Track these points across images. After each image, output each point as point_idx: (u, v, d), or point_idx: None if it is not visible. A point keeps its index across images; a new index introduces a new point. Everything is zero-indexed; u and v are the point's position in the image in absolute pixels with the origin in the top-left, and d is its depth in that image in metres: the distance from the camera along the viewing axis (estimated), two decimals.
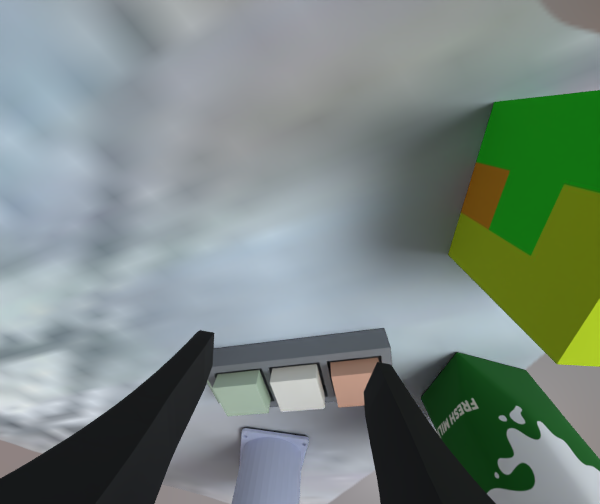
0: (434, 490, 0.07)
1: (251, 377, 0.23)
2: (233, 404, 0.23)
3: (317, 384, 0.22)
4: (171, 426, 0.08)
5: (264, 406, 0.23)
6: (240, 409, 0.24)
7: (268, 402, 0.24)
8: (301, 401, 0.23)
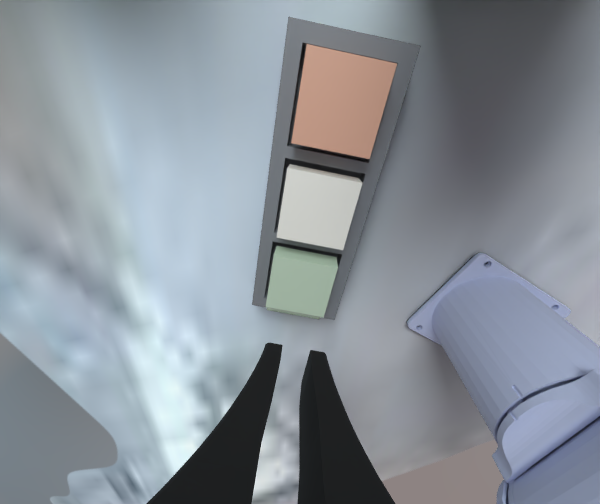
0: (323, 472, 0.07)
1: None
2: (303, 299, 0.17)
3: (302, 172, 0.14)
4: None
5: (322, 266, 0.16)
6: (316, 296, 0.17)
7: (330, 260, 0.17)
8: (331, 212, 0.14)
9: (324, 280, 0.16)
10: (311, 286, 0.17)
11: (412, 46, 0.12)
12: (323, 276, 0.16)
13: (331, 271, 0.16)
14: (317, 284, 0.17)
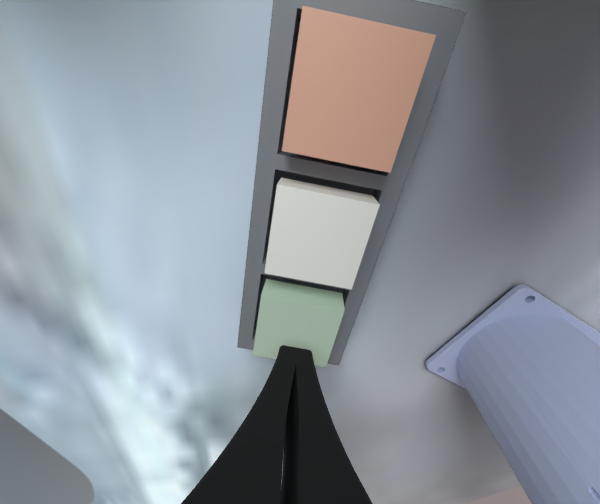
0: (299, 468, 0.07)
1: None
2: (300, 347, 0.14)
3: (297, 190, 0.10)
4: None
5: (324, 308, 0.12)
6: (316, 344, 0.13)
7: (334, 299, 0.13)
8: (336, 242, 0.11)
9: (327, 325, 0.13)
10: (310, 332, 0.13)
11: (454, 13, 0.08)
12: (325, 320, 0.13)
13: (336, 314, 0.12)
14: (318, 329, 0.13)
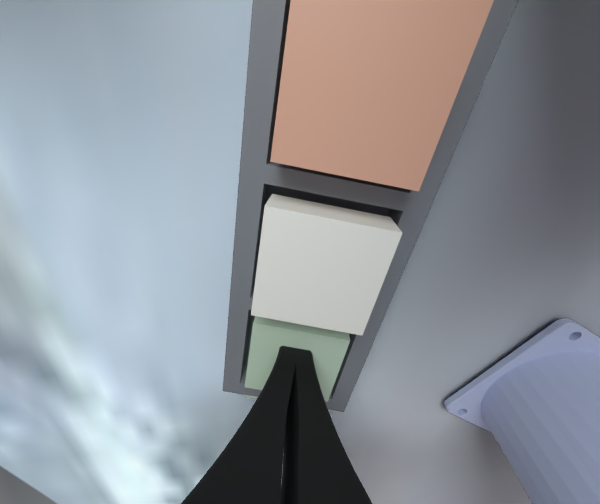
0: (299, 468, 0.07)
1: None
2: None
3: (292, 213, 0.07)
4: None
5: (326, 338, 0.11)
6: (317, 376, 0.12)
7: None
8: (343, 278, 0.08)
9: (329, 356, 0.11)
10: None
11: None
12: (328, 351, 0.11)
13: (340, 345, 0.11)
14: (319, 361, 0.11)
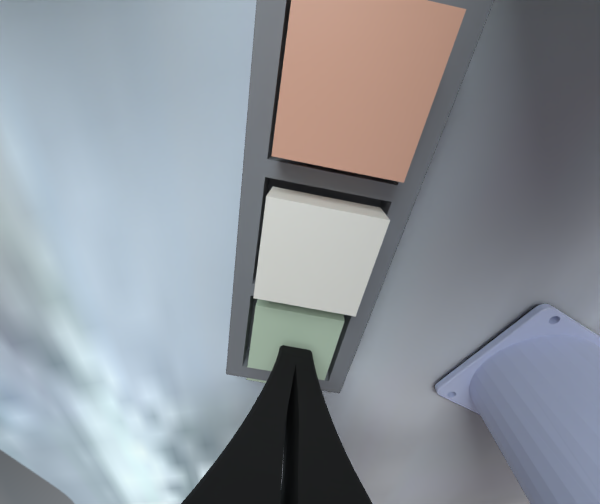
0: (299, 468, 0.07)
1: None
2: None
3: (291, 203, 0.08)
4: None
5: (322, 319, 0.12)
6: (314, 356, 0.13)
7: None
8: (338, 263, 0.09)
9: (325, 336, 0.12)
10: (308, 343, 0.12)
11: None
12: (324, 331, 0.12)
13: (335, 325, 0.12)
14: (316, 341, 0.12)
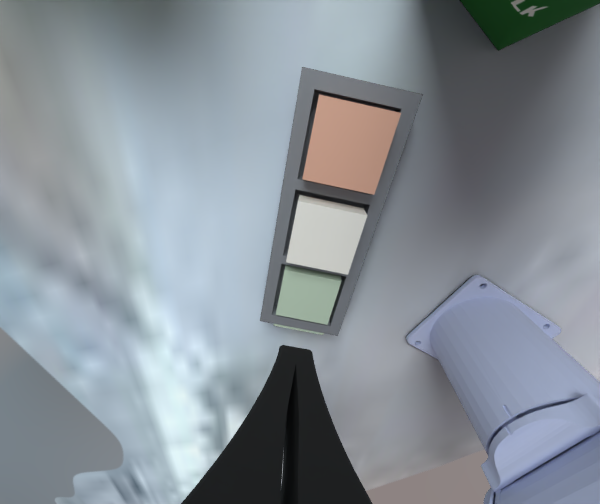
0: (299, 468, 0.07)
1: None
2: (309, 308, 0.19)
3: (311, 205, 0.15)
4: None
5: (327, 279, 0.18)
6: (321, 306, 0.19)
7: (334, 274, 0.19)
8: (337, 240, 0.15)
9: (329, 292, 0.18)
10: (317, 297, 0.19)
11: (415, 94, 0.13)
12: (328, 288, 0.18)
13: (335, 284, 0.18)
14: (322, 295, 0.19)
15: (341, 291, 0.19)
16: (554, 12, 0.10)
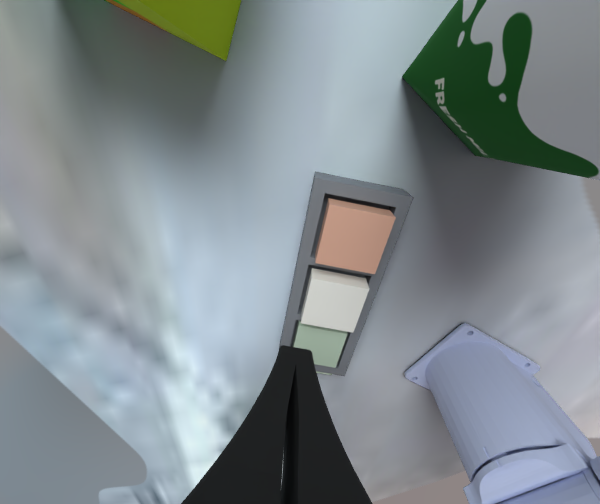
0: (299, 468, 0.07)
1: (297, 324, 0.22)
2: (320, 355, 0.22)
3: (323, 281, 0.18)
4: None
5: (335, 333, 0.21)
6: (330, 353, 0.22)
7: None
8: (344, 307, 0.18)
9: (336, 342, 0.21)
10: (326, 346, 0.22)
11: (407, 197, 0.16)
12: (336, 339, 0.21)
13: (342, 336, 0.21)
14: (331, 345, 0.22)
15: (347, 341, 0.22)
16: None
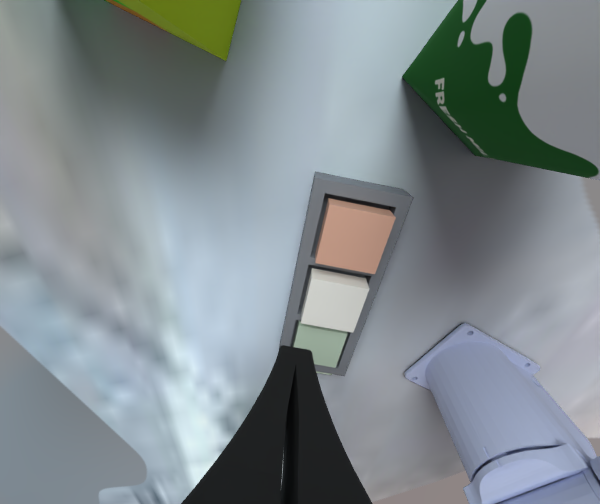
0: (299, 468, 0.07)
1: (297, 324, 0.22)
2: (320, 355, 0.22)
3: (323, 281, 0.18)
4: None
5: (335, 333, 0.21)
6: (330, 353, 0.22)
7: None
8: (344, 307, 0.18)
9: (336, 342, 0.21)
10: (326, 346, 0.22)
11: (407, 197, 0.16)
12: (336, 339, 0.21)
13: (342, 336, 0.21)
14: (331, 345, 0.22)
15: (347, 341, 0.22)
16: None
